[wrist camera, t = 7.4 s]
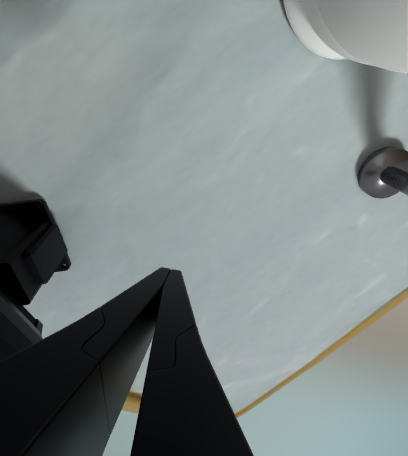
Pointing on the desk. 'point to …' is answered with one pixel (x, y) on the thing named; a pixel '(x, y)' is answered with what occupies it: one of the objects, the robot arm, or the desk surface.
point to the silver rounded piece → (385, 173)
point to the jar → (354, 30)
